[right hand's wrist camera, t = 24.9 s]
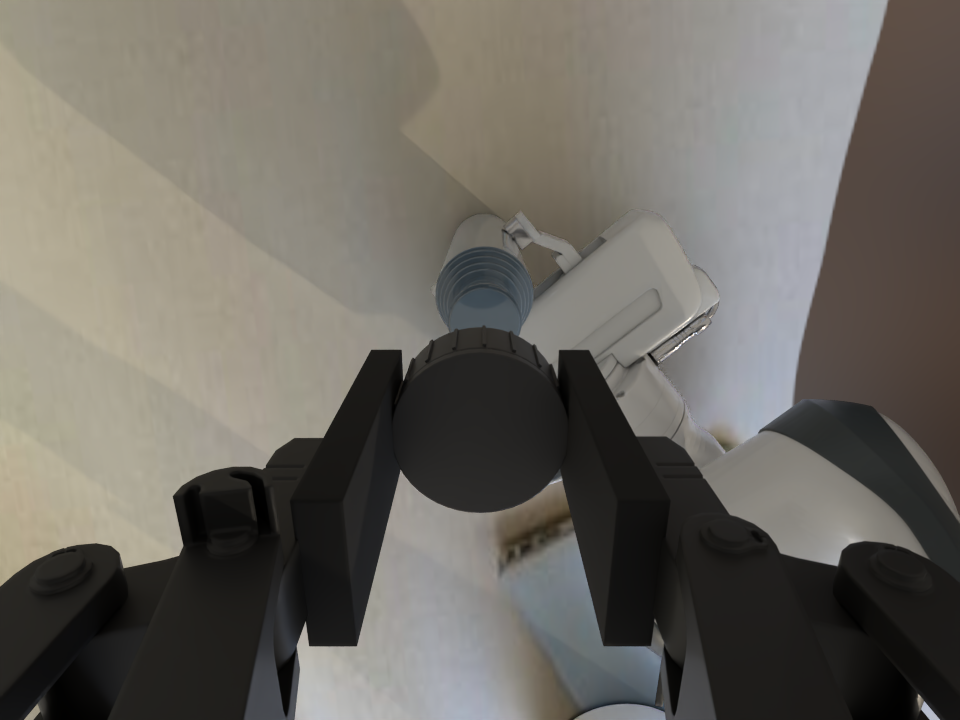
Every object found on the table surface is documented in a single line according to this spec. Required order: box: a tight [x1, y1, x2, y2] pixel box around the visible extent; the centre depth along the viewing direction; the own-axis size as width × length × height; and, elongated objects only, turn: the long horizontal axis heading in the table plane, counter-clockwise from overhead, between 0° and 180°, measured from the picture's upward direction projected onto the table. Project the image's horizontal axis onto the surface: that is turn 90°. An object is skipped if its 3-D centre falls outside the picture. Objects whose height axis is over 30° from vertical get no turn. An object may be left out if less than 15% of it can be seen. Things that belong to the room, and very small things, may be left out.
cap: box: [392, 325, 568, 513], centre depth 14 cm, size 4×4×2 cm
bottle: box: [435, 214, 534, 336], centre depth 33 cm, size 5×5×21 cm
